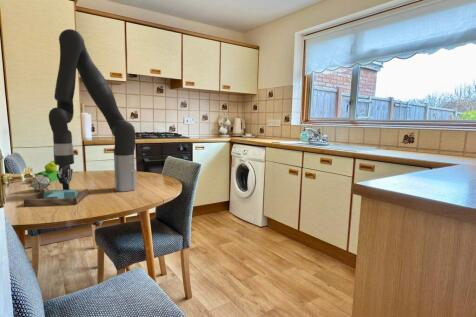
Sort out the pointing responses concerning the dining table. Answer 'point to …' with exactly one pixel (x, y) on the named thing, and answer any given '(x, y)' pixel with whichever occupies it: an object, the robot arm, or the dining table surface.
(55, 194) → the teal T block
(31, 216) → the dining table surface
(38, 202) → the walnut bay
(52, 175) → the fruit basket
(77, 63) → the robot arm
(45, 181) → the game die
